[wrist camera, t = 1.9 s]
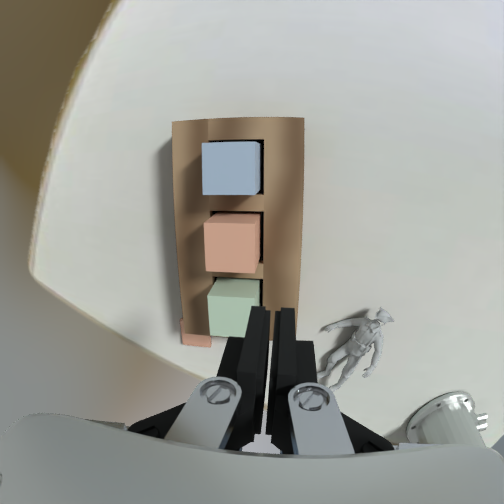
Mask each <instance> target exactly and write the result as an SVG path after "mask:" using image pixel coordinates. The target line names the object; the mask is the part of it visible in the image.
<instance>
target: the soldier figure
mask: <svg viewBox="0 0 504 504" xmlns="http://www.w3.org/2000/svg"><path fill="white" fill-rule="evenodd" d="M375 318H376V319H377V320H379V321H380V322H383V323H384V324H383V325H385V324H386V323H387V322H394V319H393V318H392V317H391V316H390V314H389V313H388V312H387V311H386V310H384V309H382V308H381V307H380V310H379V311H378V312H377V313H376V316H375ZM377 320H370V319H369V318H367V317H363V318H354V319H347V320H343V321H339V322H337V323H334V324H330V325H328V326H327V327H325V328H324V329H325V330H326V331H328V330H329V331H328V332H330V331H331V330H333V329H335V328H337V327H338V328H340V327H350V326H360V327H359V329H358V330H355V331H354V332H353V334H352V335H351V336H352V337H351V338H350V339H349V341H348V342H347V343H345V344H344V345H343V346H341V347H340V348H338V349H337V350H336V351H335V352H334V353H333V354H331V355H330V357H329V358H328V359H327V360H328V363H327V367H326V370H324V371H322V372H318V373H317V378H322V377H324V376H329V375H330V373H331V370H332V368H333V366H334V365H335V363H336V362H337V361H338V360H340V359H342V358H343V357H345V356H347V355H349V358H348V361H347V364H346V365H345V366H344V368H343V370H342V374H341V377H340V379H339V381H338V383H337V384H335V385H333V386H330V387H329V389H330V390H331V391H332V392H334V391H335V390H336V389H339V388H340V387H341V385H342V384H343V383H344V382H345V381H346V380H347V379H348V377H349V376H350V375H351V374H352V373H353V371H354V368H355V367H356V366H357V364H358V362H359V361H360V359H361V357H362V356H364V355H365V353H366V352H369V350H370V349H371V347H372V346H370V345H371V344H372V343H374V348H375V352H374V354H373V357H372V360H371V366H370V367H368V368H366V369H364V370H363V371H365V370H367V371H366V372H365V373H364V374H363V375H364V376H363V375H362V376H363V377H364V378H365V377H368V376H369V375H370V374H371V373H372V371H373V370H374V368H375V367H376V365H377V363H378V361H379V358H380V356H381V354H382V346H383V345H382V343H383V334H382V331H381V328H380V327H381V326H380V323H379V322H378V321H377ZM383 325H382V326H383ZM328 328H329V329H328ZM366 373H367V374H366ZM365 374H366V375H365Z"/></svg>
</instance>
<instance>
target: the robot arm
mask: <svg viewBox="0 0 504 504" xmlns="http://www.w3.org/2000/svg"><path fill="white" fill-rule="evenodd" d="M270 317H271V310H266V306H251V310H250V315H249V320H248V324H247V329H246V333H245V337H233V336H229V337H228V340H227V343H226V347H225V350H224V353H223V357H222V360H221V363H220V367H219V370H218V373H217V376H216V377H211V378H208V379H205V380H203V381H202V382H200V383H199V384H198V385H197V386H196V388H195V389H194V391H193V393H192V394H191V396H190V398H189V399H188V401H187V402H186V403H183V404H181V405H179V406H176V407H174V408H171V409H169V410H167V411H164V412H162V413H159V414H157V415H154V416H151V417H149V418H146V419H144V420H141V421H138V422H136V423H134V424H133V425H131V426H130V427H129V426H126V425H125V423H117V422H105V421H96V420H88V419H81V418H77V417H72V416H68V415H60V414H47V413H37V414H29V415H27V416H23V417H22V418H20V419H18V420H17V421H16V422H14V423H13V424H12V425H11V426H10V427H9V428H8V429H7V430H6V431H5V432H4V433H3V434H2V435H1V436H0V504H504V458H503V457H502V456H501V455H500V454H499V453H498V452H497V451H495V450H493V449H491V448H488V447H486V445H485V443H484V441H483V439H482V437H481V434H480V432H479V431H483V430H485V429H486V428H487V422H486V421H485V420H486V419H487V414H486V413H483V414H479V415H476V414H475V412H474V408H475V403H474V400H473V398H472V397H471V395H469V394H468V393H465V392H452V393H448V394H445V395H443V396H440V397H438V398H436V399H434V400H432V401H431V402H429V403H428V404H426V405H425V406H424V407H422V408H421V409H420V410H419V411H418V412H417V413H416V414H415V415H414V416H413V418H412V419H411V420H410V422H409V424H408V426H407V429H406V434H407V438H408V440H409V442H410V443H399V444H398V445H397V446H396V445H392V444H391V443H390V442H389V441H388V440H386V439H385V438H383V437H381V436H380V435H378V434H376V433H374V432H373V431H371V430H369V429H368V428H366V427H364V426H363V425H361V424H359V423H358V422H356V421H355V420H353V419H351V418H350V417H348V416H346V415H345V414H343V413H342V412H340V410H339V407H338V404H337V401H336V399H335V396H334V394H333V392H332V391H331V390H330V389H329V388H328V387H326V386H324V385H322V384H318V382H317V372H316V362H315V353H314V344H313V341H298V340H296V329H295V308H284V307H281V311H275V320H274V332H273V345H272V357H271V368H270V381H269V395H268V409H267V423H266V434H267V435H272V437H271V443H272V444H274V445H275V446H276V447H277V448H278V449H280V454H267V453H254V452H243V451H242V447H243V446H245V445H247V444H248V443H250V442H254V435H255V434H261V426H262V417H263V408H264V399H265V389H266V380H267V369H268V354H269V336H270Z"/></svg>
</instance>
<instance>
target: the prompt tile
mask: <svg viewBox="0 0 504 504" xmlns="http://www.w3.org/2000/svg"><path fill="white" fill-rule="evenodd" d="M180 326H181V334H182V341H183V344H184V345H192V346H201V347H211V336H205V335H195V334H185V330H184V321H183V318H181V319H180Z"/></svg>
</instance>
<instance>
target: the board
mask: <svg viewBox="0 0 504 504" xmlns="http://www.w3.org/2000/svg"><path fill="white" fill-rule="evenodd" d="M218 140H264V194H258V193H256V195H203V186H202V143H211V141H218ZM172 163H173V194H174V215H175V232H176V247H177V260H178V272H179V283H180V293H181V303H182V313H183V321H184V330H185V334H195V335H205V336H211V335H210V327H209V313H208V298H207V295H208V294H209V292H210V290H211V288H212V287H213V285H214V283H215V277H233V278H254V279H263V306H266V310H271V317H270V336H269V340H271V341H273V332H274V320H275V311H281V307H284V308H295V329H296V328H297V315H298V300H299V285H300V267H301V247H302V223H303V190H304V118H296V117H240V118H216V119H199V120H186V121H175V122H172ZM212 211H264V245H263V261H260V260H259V262H258V265H257V268H256V271H255V273H233V272H212V271H206V264H205V244H204V222H205V221H207V220H208V219H209V218H211V217H212ZM215 337H222V336H215ZM227 338H228V337H227Z"/></svg>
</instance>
